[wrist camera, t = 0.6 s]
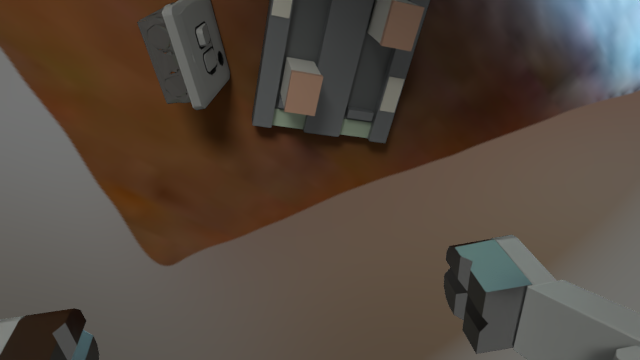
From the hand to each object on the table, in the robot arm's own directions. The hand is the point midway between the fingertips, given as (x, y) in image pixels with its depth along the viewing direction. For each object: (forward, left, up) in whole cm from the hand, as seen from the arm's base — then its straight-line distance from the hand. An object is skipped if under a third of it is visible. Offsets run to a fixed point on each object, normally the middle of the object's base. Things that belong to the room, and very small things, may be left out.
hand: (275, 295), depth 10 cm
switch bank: (+2, +11, -42) cm, 43 cm away
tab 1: (+6, +7, -40) cm, 41 cm away
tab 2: (-2, +15, -40) cm, 42 cm away
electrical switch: (+5, -4, -42) cm, 42 cm away
